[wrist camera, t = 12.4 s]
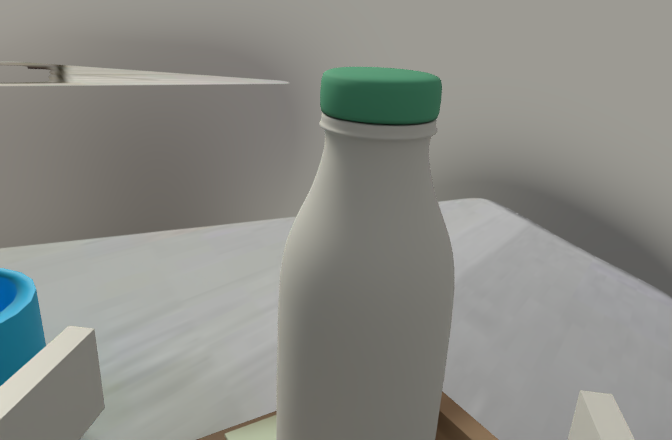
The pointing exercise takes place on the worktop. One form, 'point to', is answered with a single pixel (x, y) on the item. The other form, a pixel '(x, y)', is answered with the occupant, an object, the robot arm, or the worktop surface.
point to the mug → (18, 323)
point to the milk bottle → (367, 269)
